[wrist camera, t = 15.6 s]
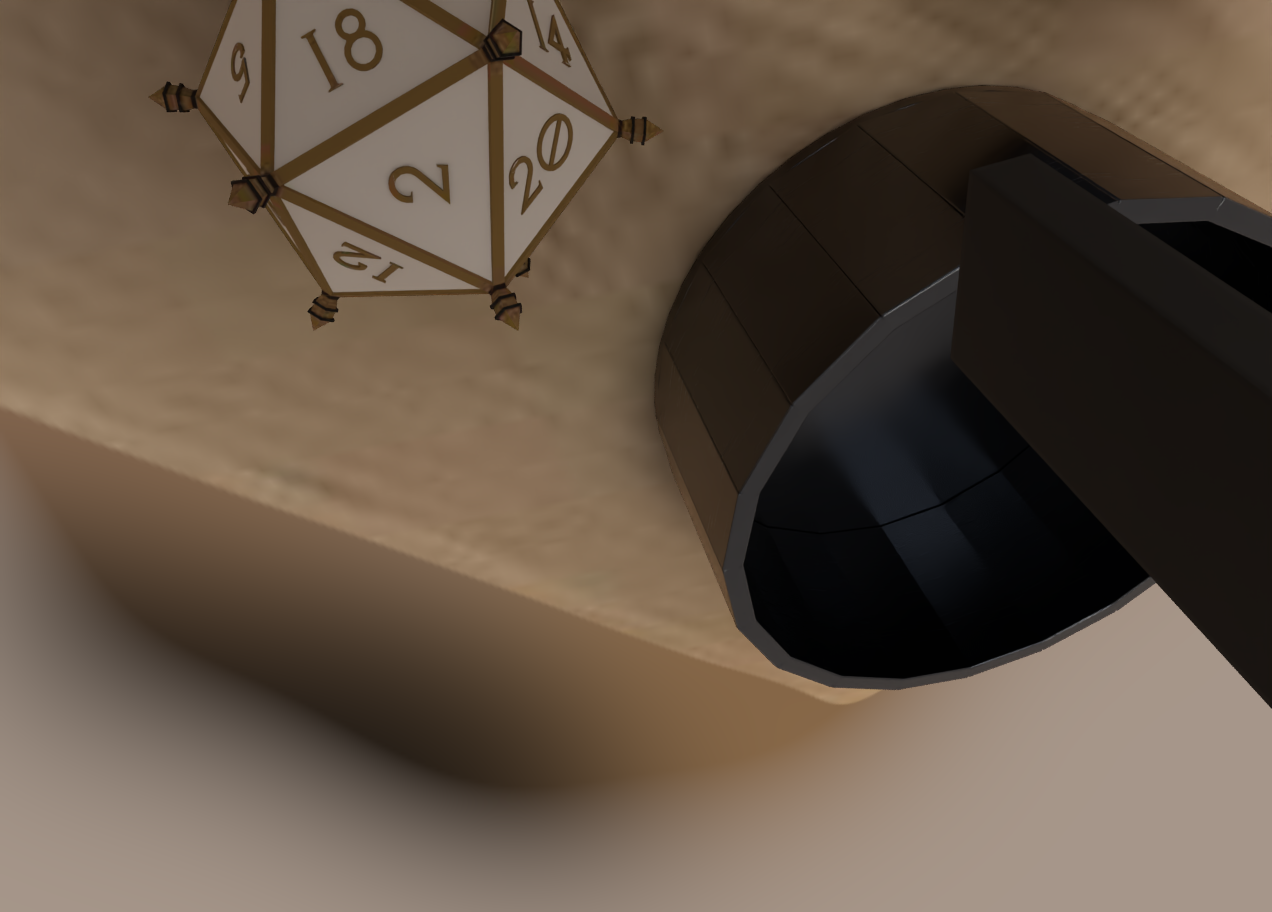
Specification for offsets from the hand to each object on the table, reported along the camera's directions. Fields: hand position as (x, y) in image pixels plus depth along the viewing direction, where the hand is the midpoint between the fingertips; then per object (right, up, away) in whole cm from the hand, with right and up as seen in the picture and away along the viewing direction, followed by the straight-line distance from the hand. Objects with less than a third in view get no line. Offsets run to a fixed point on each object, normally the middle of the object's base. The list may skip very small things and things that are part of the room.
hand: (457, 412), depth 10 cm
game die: (-3, +9, +10) cm, 14 cm away
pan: (+11, +3, +20) cm, 23 cm away
